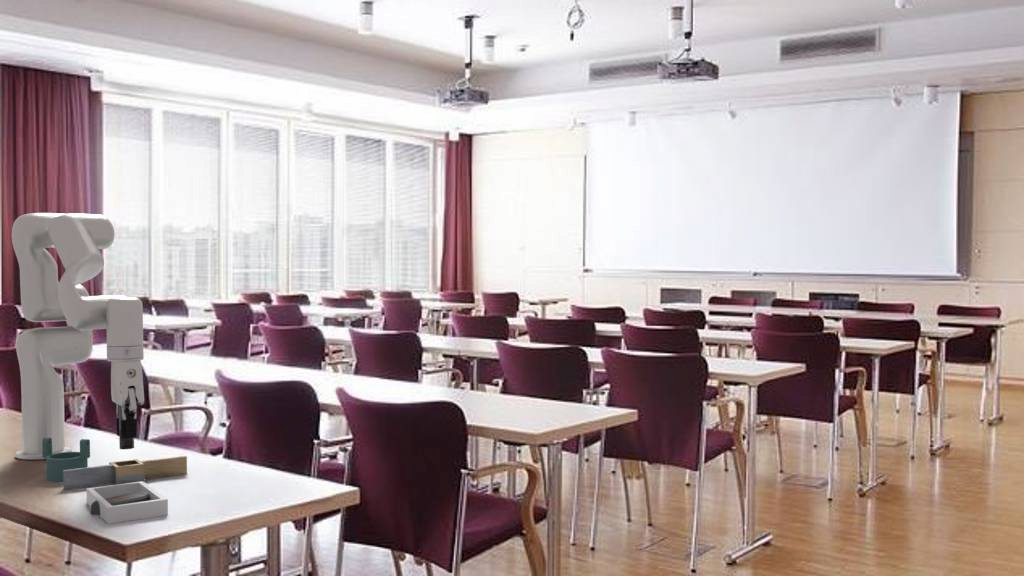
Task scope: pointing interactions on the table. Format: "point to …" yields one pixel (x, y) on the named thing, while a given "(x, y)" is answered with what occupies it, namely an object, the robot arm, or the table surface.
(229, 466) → the table surface
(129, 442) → the hinge pin
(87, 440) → the teal round tub
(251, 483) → the table surface
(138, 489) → the parts tray frame
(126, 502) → the usb flash stick
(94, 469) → the hinge
